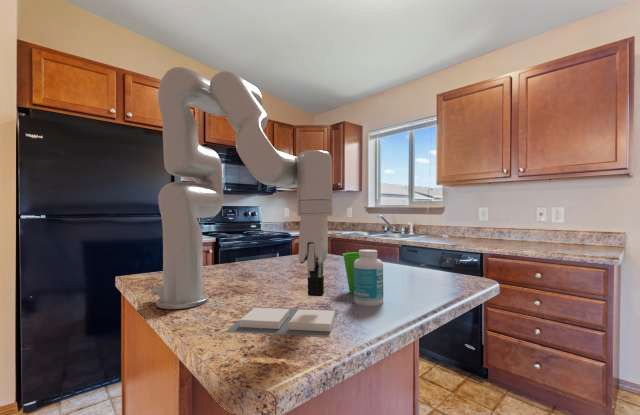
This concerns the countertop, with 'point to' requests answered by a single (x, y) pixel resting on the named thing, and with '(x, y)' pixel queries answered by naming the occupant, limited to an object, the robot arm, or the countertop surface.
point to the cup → (350, 268)
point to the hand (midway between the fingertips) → (315, 294)
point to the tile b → (312, 320)
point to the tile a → (265, 318)
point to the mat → (283, 329)
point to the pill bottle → (368, 279)
